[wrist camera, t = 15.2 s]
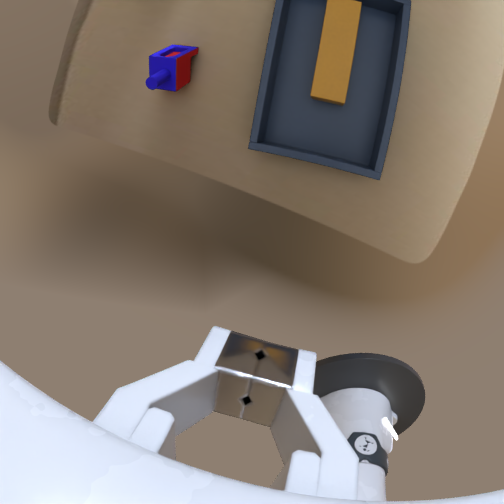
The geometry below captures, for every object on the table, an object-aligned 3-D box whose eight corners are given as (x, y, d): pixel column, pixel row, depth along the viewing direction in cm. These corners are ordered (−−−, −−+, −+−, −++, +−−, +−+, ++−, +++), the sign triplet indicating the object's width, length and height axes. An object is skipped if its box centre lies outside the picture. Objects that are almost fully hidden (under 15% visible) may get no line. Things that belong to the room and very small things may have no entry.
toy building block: (172, 73, 34) (136, 97, 30) (172, 44, 31) (134, 63, 26) (196, 76, 34) (162, 101, 29) (198, 47, 31) (162, 66, 26)
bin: (372, 173, 33) (379, 180, 29) (257, 146, 35) (247, 148, 31) (402, 13, 24) (411, 0, 20) (287, -12, 26) (281, -28, 22)
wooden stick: (344, 103, 27) (361, 1, 22) (310, 95, 28) (328, -6, 22) (342, 106, 30) (358, 12, 25) (311, 98, 31) (328, 6, 26)
